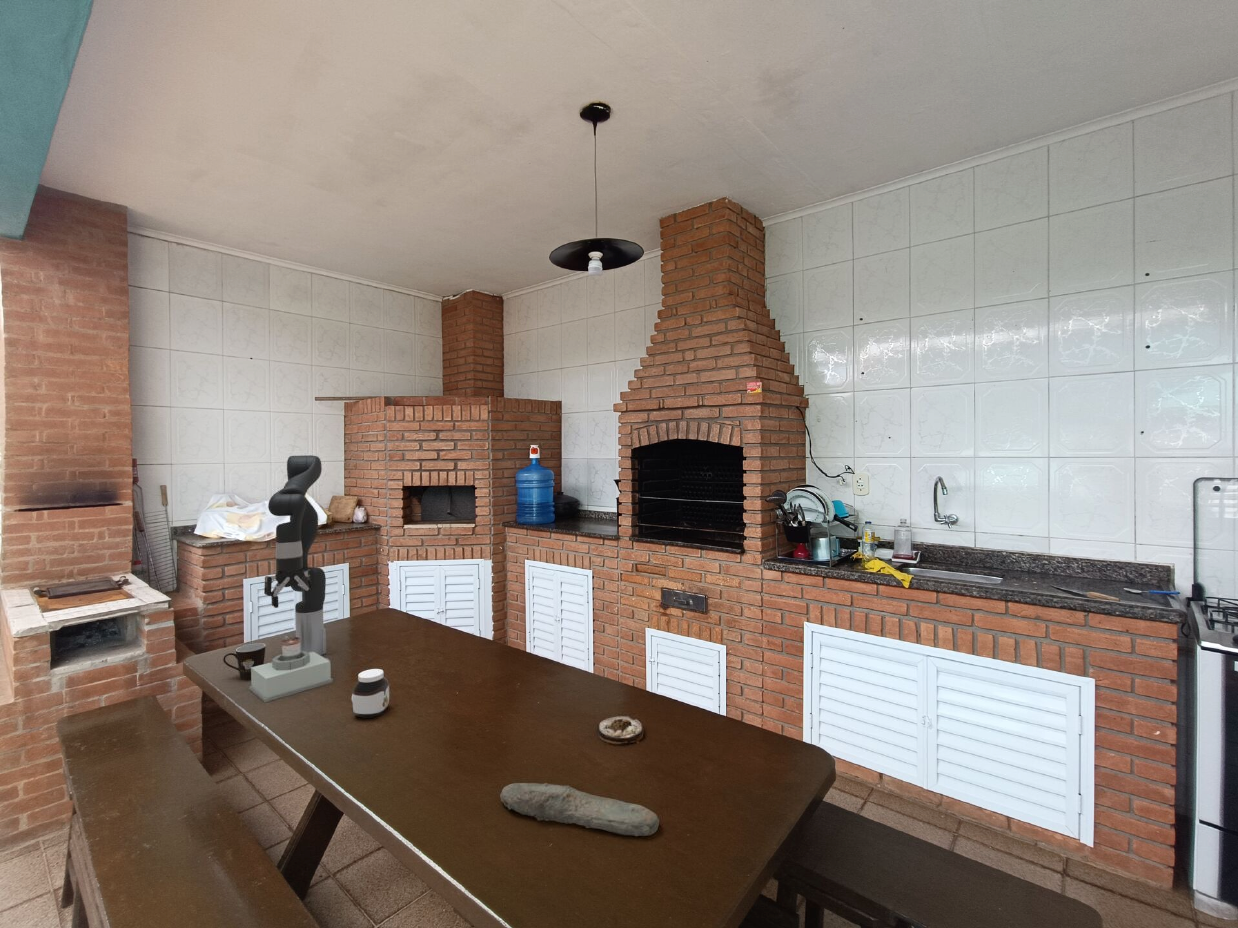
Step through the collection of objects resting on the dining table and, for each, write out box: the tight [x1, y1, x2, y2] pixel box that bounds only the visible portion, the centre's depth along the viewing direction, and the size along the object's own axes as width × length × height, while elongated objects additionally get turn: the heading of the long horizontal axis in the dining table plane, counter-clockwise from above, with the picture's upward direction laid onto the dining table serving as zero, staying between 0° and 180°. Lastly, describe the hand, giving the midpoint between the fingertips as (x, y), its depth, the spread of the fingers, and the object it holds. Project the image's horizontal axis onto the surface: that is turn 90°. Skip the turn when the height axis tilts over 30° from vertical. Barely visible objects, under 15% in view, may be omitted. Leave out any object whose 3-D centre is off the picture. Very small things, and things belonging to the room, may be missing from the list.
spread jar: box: [351, 668, 390, 719], centre depth 168 cm, size 12×11×12 cm
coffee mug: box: [222, 642, 267, 681], centre depth 194 cm, size 12×9×10 cm
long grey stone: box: [499, 782, 660, 837], centre depth 119 cm, size 35×5×10 cm
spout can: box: [281, 635, 301, 661], centre depth 186 cm, size 5×5×10 cm
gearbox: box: [248, 651, 334, 703], centre depth 187 cm, size 22×15×10 cm
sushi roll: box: [596, 715, 645, 746], centre depth 153 cm, size 15×15×4 cm
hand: (290, 604), depth 186 cm, fingers open, 8 cm apart
